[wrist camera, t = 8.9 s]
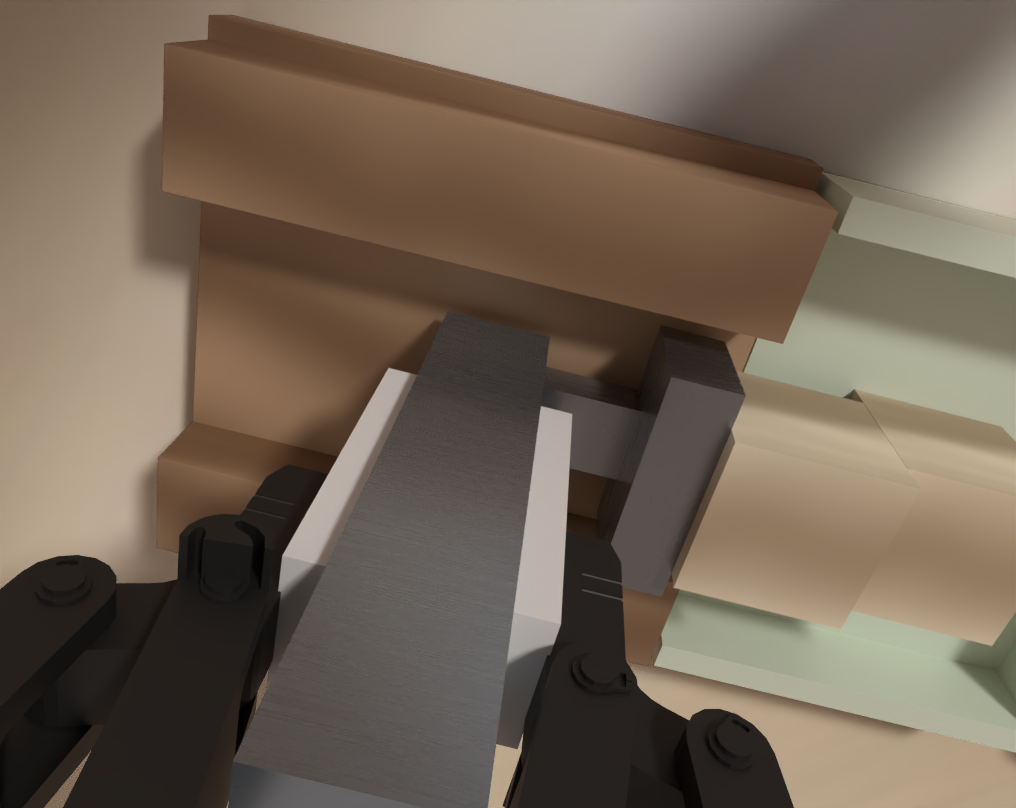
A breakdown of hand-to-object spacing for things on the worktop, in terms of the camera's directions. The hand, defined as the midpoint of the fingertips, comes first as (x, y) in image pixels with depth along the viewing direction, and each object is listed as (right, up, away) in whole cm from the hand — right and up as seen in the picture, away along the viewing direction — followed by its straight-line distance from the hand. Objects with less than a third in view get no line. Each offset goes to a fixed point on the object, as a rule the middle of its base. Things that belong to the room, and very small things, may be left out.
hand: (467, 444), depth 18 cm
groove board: (0, +2, +4) cm, 5 cm away
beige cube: (+7, 0, +3) cm, 8 cm away
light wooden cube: (+11, -1, +4) cm, 12 cm away
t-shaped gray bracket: (+2, +1, +3) cm, 4 cm away
